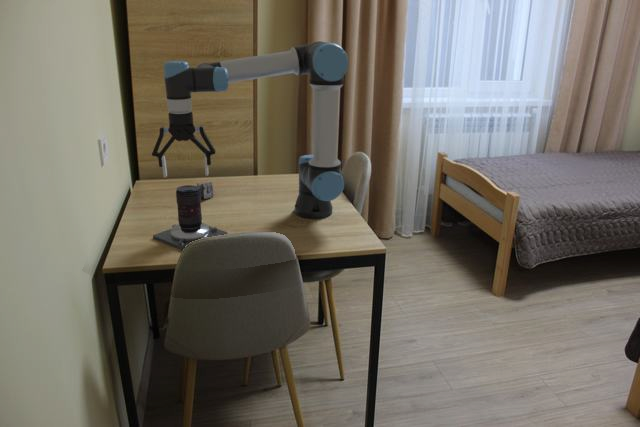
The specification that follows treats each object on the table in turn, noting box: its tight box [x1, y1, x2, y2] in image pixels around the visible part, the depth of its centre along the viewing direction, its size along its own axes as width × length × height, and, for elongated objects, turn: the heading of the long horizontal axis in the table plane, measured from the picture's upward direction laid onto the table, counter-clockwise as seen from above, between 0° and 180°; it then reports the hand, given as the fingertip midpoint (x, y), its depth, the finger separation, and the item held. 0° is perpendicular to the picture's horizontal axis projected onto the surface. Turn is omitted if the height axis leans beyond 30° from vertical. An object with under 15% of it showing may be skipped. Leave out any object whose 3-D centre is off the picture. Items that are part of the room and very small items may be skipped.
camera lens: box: [175, 184, 203, 233], centre depth 176 cm, size 8×8×15 cm
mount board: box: [152, 222, 228, 251], centre depth 179 cm, size 18×18×3 cm
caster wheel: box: [196, 181, 214, 200], centre depth 220 cm, size 7×11×10 cm
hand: (186, 175), depth 171 cm, fingers open, 13 cm apart
